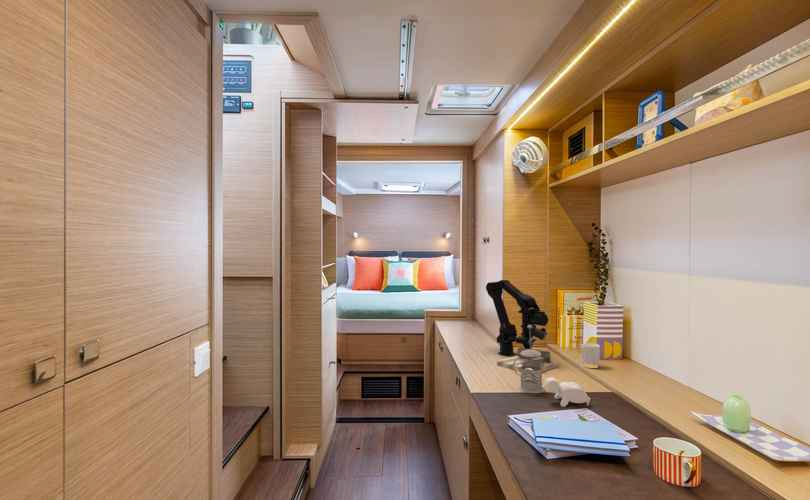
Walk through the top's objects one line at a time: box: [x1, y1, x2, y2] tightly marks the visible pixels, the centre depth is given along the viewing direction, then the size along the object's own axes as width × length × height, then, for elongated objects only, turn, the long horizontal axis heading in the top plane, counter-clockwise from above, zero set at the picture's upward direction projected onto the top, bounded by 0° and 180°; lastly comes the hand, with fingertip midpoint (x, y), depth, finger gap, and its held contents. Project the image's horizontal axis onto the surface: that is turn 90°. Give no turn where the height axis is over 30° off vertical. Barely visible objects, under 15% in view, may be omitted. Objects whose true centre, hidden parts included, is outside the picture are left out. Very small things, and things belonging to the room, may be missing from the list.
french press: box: [513, 325, 546, 394], centre depth 153 cm, size 10×12×25 cm
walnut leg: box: [517, 346, 551, 362], centre depth 187 cm, size 16×4×4 cm, turn 43°
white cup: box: [580, 342, 601, 365], centre depth 181 cm, size 8×8×10 cm
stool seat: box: [496, 355, 558, 373], centre depth 184 cm, size 20×18×6 cm
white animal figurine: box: [543, 376, 591, 408], centre depth 138 cm, size 9×8×15 cm
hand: (529, 354), depth 193 cm, fingers closed
